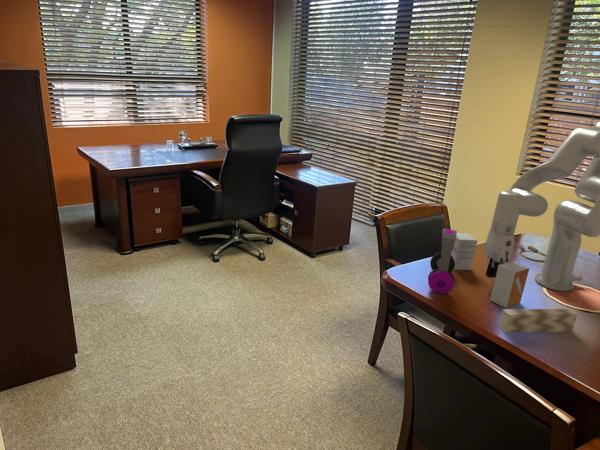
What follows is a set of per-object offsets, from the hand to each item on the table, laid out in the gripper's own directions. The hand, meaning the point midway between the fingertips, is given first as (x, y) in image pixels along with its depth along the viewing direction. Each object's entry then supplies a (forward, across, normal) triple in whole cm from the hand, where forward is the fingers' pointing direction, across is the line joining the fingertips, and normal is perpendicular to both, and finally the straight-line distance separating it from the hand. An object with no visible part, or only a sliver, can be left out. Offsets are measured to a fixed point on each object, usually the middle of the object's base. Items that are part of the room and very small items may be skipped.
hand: (490, 276), depth 157 cm
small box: (+5, -10, -1) cm, 11 cm away
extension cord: (+4, +30, -38) cm, 48 cm away
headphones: (+5, +4, +16) cm, 18 cm away
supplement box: (+5, +18, +2) cm, 19 cm away
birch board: (+4, -26, -1) cm, 27 cm away
